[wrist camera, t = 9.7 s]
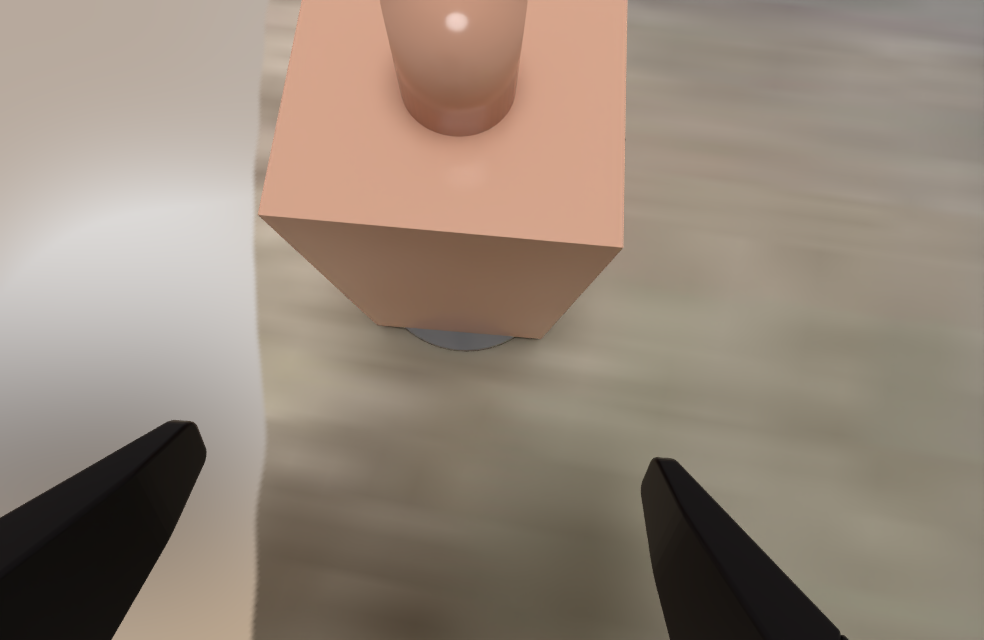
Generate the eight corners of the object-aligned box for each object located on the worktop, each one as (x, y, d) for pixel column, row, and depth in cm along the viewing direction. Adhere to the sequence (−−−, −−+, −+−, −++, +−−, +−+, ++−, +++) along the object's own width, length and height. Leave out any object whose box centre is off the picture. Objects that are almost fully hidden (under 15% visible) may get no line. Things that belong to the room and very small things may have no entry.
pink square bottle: (541, 338, 19) (667, 198, 7) (377, 324, 19) (191, 153, 6) (548, 199, 20) (665, -133, 8) (396, 185, 20) (274, -177, 8)
